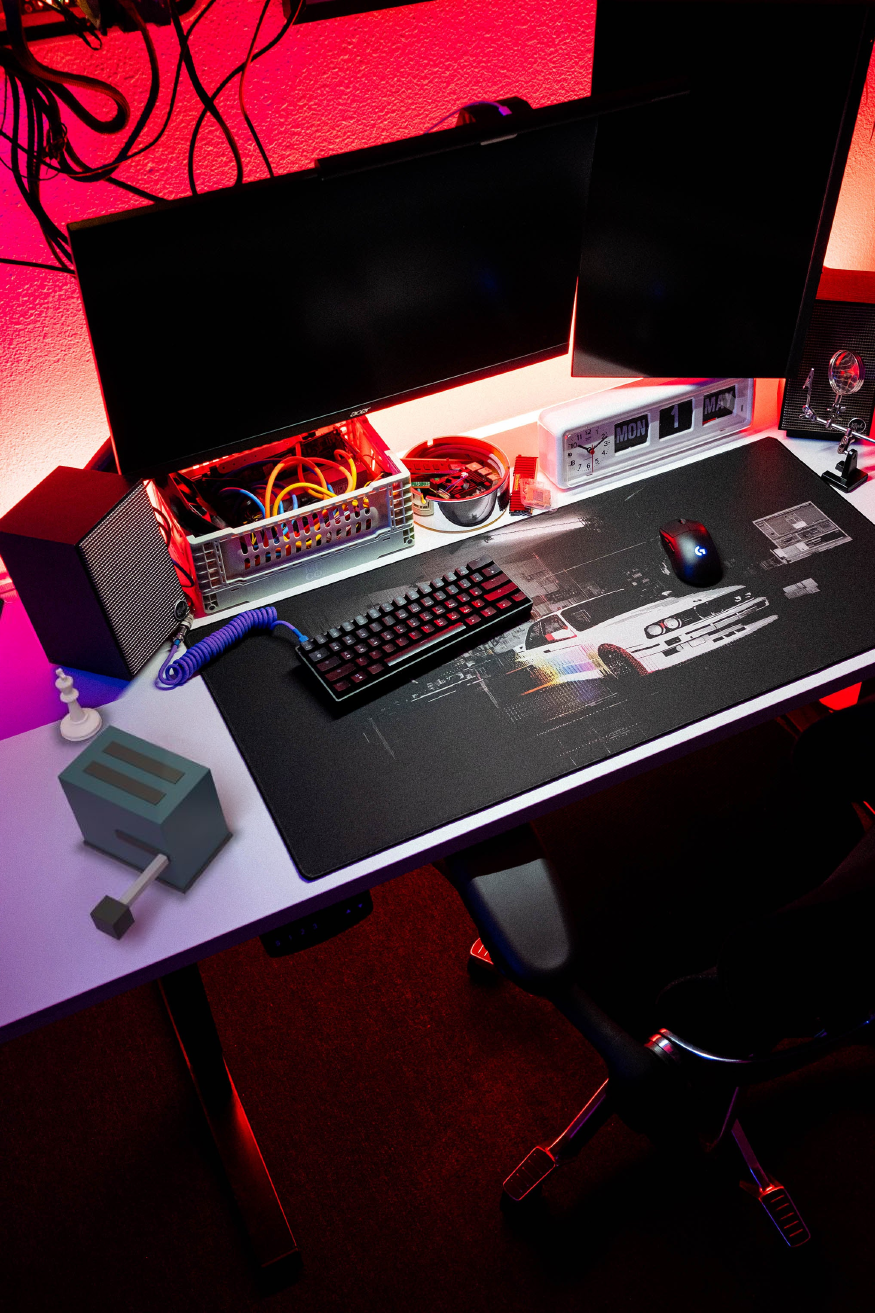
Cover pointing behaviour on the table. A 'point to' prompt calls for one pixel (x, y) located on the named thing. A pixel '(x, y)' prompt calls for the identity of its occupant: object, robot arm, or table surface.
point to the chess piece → (76, 712)
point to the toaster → (146, 806)
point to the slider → (125, 903)
